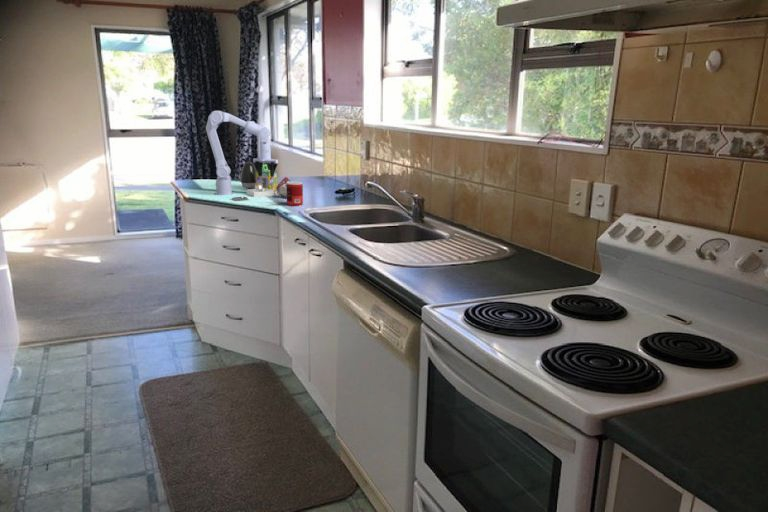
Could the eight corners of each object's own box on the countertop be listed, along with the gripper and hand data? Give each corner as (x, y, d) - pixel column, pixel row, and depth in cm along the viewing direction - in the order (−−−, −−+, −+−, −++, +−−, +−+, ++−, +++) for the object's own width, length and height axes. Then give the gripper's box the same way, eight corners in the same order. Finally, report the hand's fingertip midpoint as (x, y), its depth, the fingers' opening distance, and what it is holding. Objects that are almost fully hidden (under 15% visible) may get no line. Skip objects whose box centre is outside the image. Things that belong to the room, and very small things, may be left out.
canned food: (305, 204, 286) (305, 181, 284) (298, 206, 279) (297, 183, 276) (291, 203, 289) (291, 181, 286) (284, 205, 281) (283, 183, 279)
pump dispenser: (262, 187, 340) (261, 161, 336) (249, 189, 331) (248, 163, 327) (250, 186, 345) (249, 160, 341) (237, 188, 337) (235, 161, 333)
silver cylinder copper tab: (258, 194, 312) (257, 182, 310) (264, 194, 310) (264, 182, 308) (253, 195, 308) (253, 183, 306) (259, 195, 306) (259, 183, 305)
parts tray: (246, 195, 311) (246, 189, 311) (266, 193, 317) (265, 188, 317) (254, 198, 303) (254, 192, 302) (274, 196, 308) (273, 190, 308)
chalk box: (269, 192, 322) (268, 165, 318) (255, 191, 325) (254, 165, 321) (278, 190, 330) (277, 164, 326) (264, 189, 333) (263, 163, 329)
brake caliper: (301, 191, 309) (295, 175, 300) (295, 206, 303) (289, 190, 293) (281, 191, 312) (275, 174, 303) (275, 205, 305) (268, 189, 296)
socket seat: (229, 200, 295) (229, 197, 295) (244, 199, 299) (244, 196, 299) (234, 202, 288) (234, 199, 288) (250, 201, 293) (250, 198, 292)
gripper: (249, 150, 308) (250, 176, 312) (272, 151, 303) (273, 177, 306) (257, 149, 314) (258, 174, 318) (279, 150, 309) (280, 176, 312)
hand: (266, 176), depth 312 cm, fingers open, 7 cm apart
